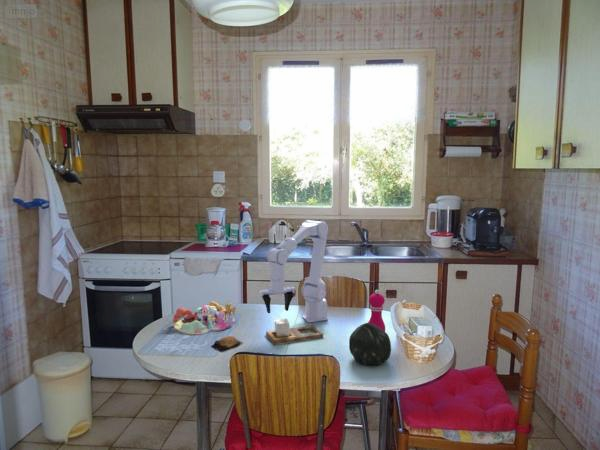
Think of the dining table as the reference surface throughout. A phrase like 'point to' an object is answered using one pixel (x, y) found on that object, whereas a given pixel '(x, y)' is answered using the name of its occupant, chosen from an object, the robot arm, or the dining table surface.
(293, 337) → the wooden board with holes
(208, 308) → the candy landscape model
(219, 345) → the bread roll
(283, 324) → the light grey block
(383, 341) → the squash
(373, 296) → the pepper mill
